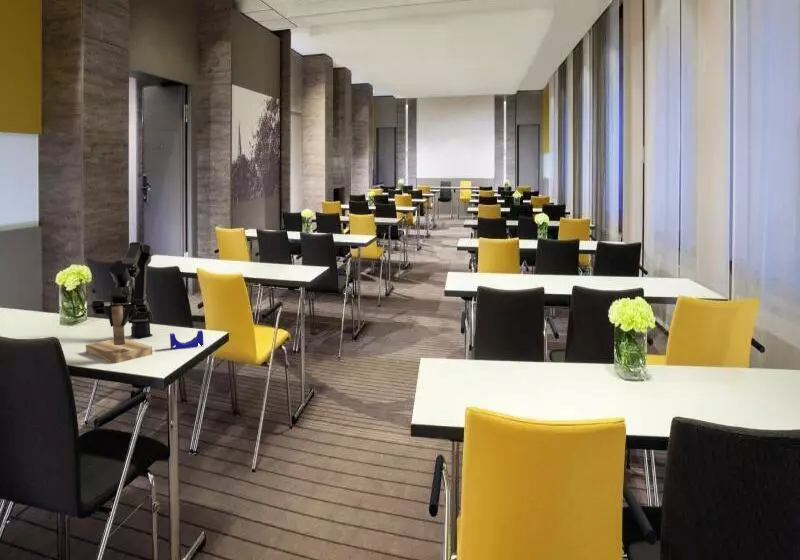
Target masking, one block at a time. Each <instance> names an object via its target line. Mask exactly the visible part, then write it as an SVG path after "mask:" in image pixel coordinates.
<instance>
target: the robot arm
mask: <svg viewBox="0 0 800 560" xmlns="http://www.w3.org/2000/svg"><path fill="white" fill-rule="evenodd" d="M153 254H154V251H153V248H152V246H151V245H148V244H145V243H144V242H141V241H136V242H135V241H132V242H129V245H128V250H127V252H126V254H125V257H124V258H123V259H120V260H117V261H116V263H114V264H112V265H111V266H110V267H109V273H110V274H111V277H112V279H113V282H114V283H115V287H113V286H111V287H109V293H108V294H109V295H108V296H109V297H110V301H111V302H109V301H108V302H106V301H105V300H104V299H94V300H92V302H91V304H90V306H91V307H90V308H91V309H92V311H93V313H94V314H95V315H106V316H107V317H108V321H109V324H110V328H113V321H112V306H123V310H124V313H123V322H122V326H124V327H125V326H126V324H127V323H128V324H131V327H130V330H131V331H130V333H131V334H130V337H131V336H132V338H135V339H143V338H149V337H153V335H154V334H153V333H151V323H153V322H154V316H153V312H152V310H151V308H150V305H149V303H148V301H147V299H146V297H147V272H148V271H147V269H148V268H147V267H148V266H149V264H150V263H151V262H152V257H153ZM133 278H134V280H133ZM132 290H133V291H132ZM132 292H133V299H132Z"/></svg>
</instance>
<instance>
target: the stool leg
mask: <svg viewBox="0 0 800 560" xmlns="http://www.w3.org/2000/svg"><path fill="white" fill-rule="evenodd" d="M123 318H124V309H123V306H112V321H113V326H112V333H113V334H112V336H113V339H114V345H123V344H125V339H126V337H125V326H122V322H123Z"/></svg>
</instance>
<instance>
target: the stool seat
mask: <svg viewBox="0 0 800 560" xmlns="http://www.w3.org/2000/svg"><path fill="white" fill-rule="evenodd" d="M85 352H88V353H87V354H89V353H90V355H92V354H93V355H92V356H95V355H96V356H95V357H98V356H99V357H98V358H101V359H103V358H104V360H106V359H107V361H109V360H110V362H113V363H115V364H117V363H122V362H126V361H131V360H134V359H139V358H142V357H146V356H151V355H153V345H152V346H150V345H148V344H144V343H141V342H138V341H134V340H131V339H128V338H125V344H123V345H114V338H113V339H107V340H103V341H98V342H94V343H93V342H92V343H88V344H85Z"/></svg>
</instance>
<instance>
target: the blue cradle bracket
mask: <svg viewBox="0 0 800 560" xmlns="http://www.w3.org/2000/svg"><path fill="white" fill-rule="evenodd" d="M169 343H170V349H171V350H172V351H173V350H182V349H191V348H190V347H192V348H198V347H197V346H198V343H199V344H200V345H201V347H203V346H202V345H204V332H203V330H202V329H201V330H197V333H196V336H195V337H193V338H192V339H191V340H188V341H186V342H181V341H179V340H178V339H177V338H176V334H175V333H173V332H172V333H169Z"/></svg>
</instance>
